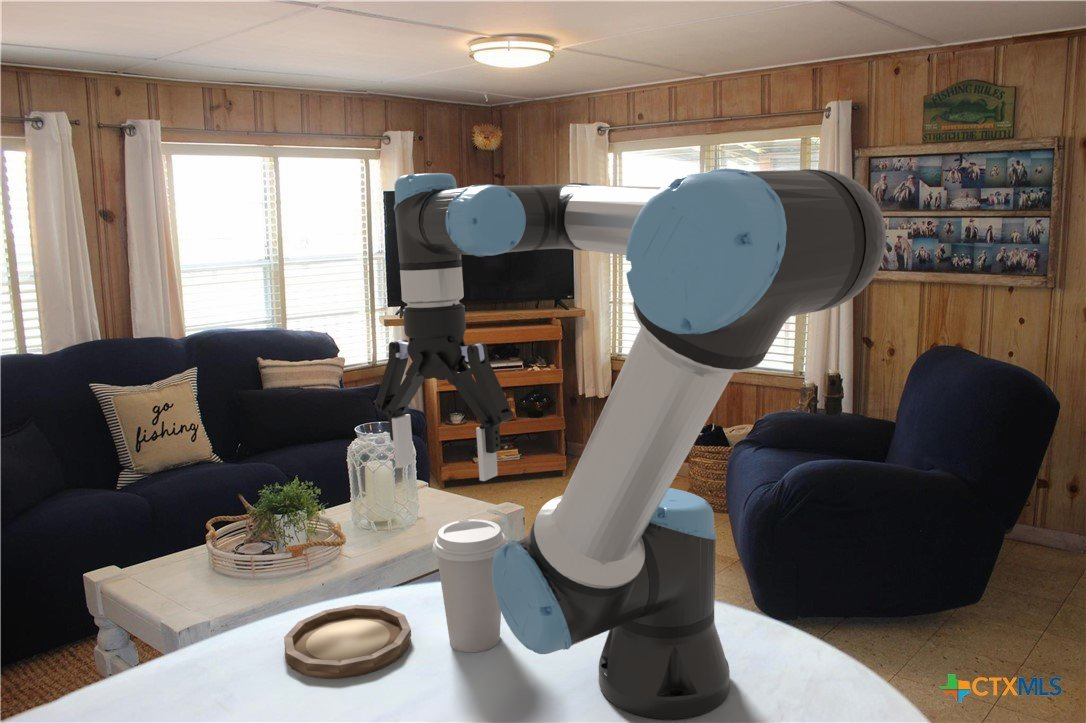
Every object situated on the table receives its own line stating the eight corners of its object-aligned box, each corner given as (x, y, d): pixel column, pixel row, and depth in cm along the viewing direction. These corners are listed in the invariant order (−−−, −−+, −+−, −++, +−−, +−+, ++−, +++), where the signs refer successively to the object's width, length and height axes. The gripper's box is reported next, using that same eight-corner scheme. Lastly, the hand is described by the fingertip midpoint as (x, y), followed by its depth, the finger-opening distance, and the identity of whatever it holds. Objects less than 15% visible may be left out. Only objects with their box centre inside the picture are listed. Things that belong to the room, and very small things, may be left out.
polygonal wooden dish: (435, 639, 117) (434, 627, 116) (336, 693, 105) (335, 678, 105) (359, 606, 127) (358, 594, 126) (260, 651, 115) (259, 638, 115)
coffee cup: (516, 623, 121) (511, 517, 118) (506, 659, 111) (501, 545, 108) (446, 621, 122) (440, 516, 119) (430, 658, 112) (423, 544, 109)
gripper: (535, 301, 106) (544, 474, 109) (379, 299, 119) (392, 453, 123) (498, 308, 99) (508, 492, 103) (338, 305, 113) (352, 468, 117)
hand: (445, 471), depth 113 cm, fingers open, 13 cm apart
